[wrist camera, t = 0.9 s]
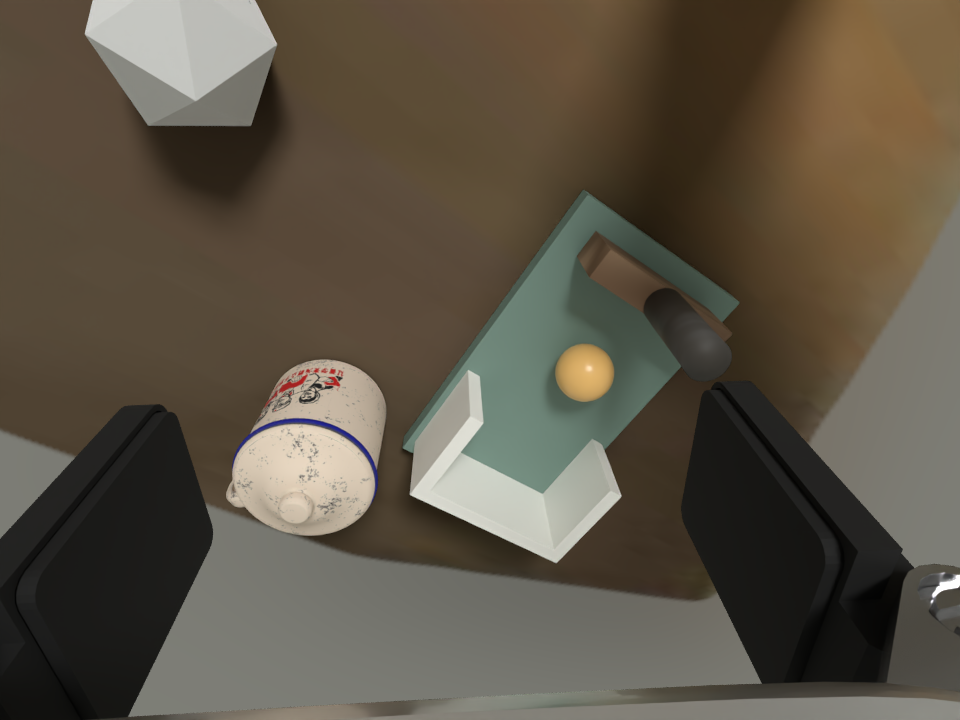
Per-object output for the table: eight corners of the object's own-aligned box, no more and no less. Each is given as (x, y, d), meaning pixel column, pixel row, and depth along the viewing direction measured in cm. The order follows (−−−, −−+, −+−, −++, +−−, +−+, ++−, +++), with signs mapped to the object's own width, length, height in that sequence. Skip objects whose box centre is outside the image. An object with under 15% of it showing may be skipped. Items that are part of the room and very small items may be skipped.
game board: (583, 189, 38) (611, 219, 31) (730, 294, 41) (783, 341, 35) (404, 436, 46) (395, 501, 40) (540, 504, 50) (553, 573, 43)
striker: (597, 228, 37) (649, 291, 27) (710, 306, 40) (792, 389, 30) (574, 258, 38) (616, 330, 28) (686, 333, 41) (759, 421, 31)
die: (297, 131, 36) (312, 38, 27) (154, 177, 33) (117, 89, 24) (234, 5, 35) (226, -134, 26) (81, 40, 32) (14, -104, 23)
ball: (574, 324, 40) (585, 350, 37) (618, 351, 42) (633, 379, 38) (540, 366, 42) (548, 395, 38) (583, 391, 43) (595, 422, 40)
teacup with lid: (343, 333, 42) (307, 425, 31) (412, 422, 46) (401, 531, 35) (214, 406, 44) (142, 515, 34) (290, 485, 48) (246, 604, 38)
